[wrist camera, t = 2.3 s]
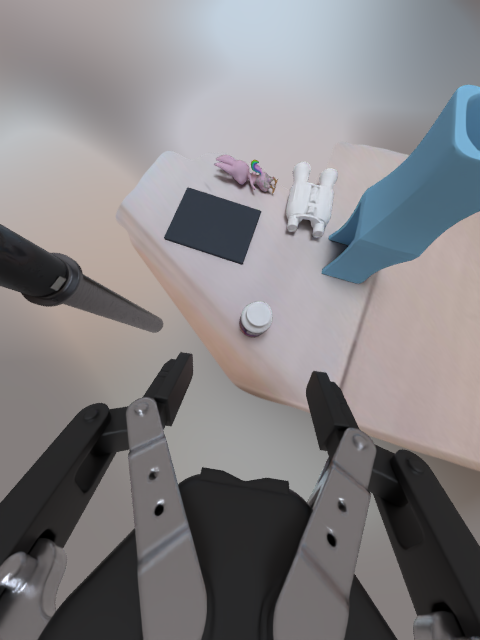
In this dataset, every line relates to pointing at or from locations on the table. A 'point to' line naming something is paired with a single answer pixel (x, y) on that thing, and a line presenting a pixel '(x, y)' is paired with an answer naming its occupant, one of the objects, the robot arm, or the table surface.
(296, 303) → the table surface
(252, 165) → the pink figurine
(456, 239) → the table surface
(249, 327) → the pill bottle
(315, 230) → the binoculars
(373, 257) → the vase
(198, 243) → the mat
